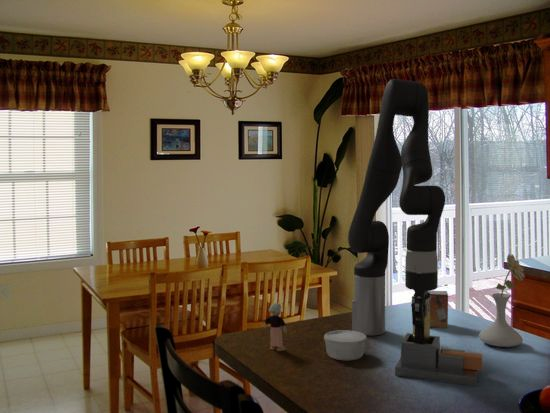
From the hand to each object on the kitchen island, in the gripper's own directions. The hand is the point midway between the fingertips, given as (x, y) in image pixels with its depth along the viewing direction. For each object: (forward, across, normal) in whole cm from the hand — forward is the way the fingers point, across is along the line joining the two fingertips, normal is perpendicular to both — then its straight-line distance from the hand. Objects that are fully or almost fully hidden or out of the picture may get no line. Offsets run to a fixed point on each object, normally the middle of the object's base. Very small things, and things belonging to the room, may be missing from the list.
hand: (420, 338), depth 137 cm
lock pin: (+6, 0, +9) cm, 11 cm away
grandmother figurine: (+8, -2, -39) cm, 40 cm away
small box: (+8, -41, -2) cm, 42 cm away
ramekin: (+8, -4, -20) cm, 22 cm away
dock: (+8, 0, +4) cm, 9 cm away
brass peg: (+3, 0, 0) cm, 3 cm away
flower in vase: (+8, -29, +18) cm, 35 cm away
